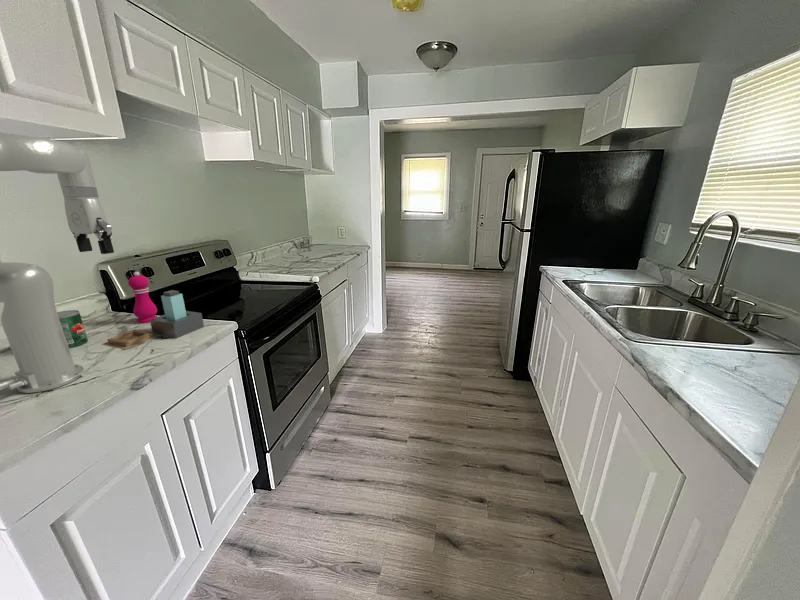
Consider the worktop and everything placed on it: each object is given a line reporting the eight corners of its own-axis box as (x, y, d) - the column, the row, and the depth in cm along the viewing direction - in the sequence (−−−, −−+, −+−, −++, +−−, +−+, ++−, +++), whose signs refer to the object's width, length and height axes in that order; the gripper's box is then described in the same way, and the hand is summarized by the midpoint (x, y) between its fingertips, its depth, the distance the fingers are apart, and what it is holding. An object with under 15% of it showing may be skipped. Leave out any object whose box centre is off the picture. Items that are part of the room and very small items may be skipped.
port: (176, 340, 111) (173, 322, 109) (153, 335, 114) (149, 318, 112) (204, 328, 121) (201, 312, 119) (182, 324, 124) (178, 308, 122)
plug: (176, 324, 114) (169, 294, 110) (166, 322, 115) (160, 292, 112) (187, 320, 118) (181, 290, 114) (178, 318, 119) (172, 289, 116)
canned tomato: (52, 346, 105) (41, 314, 102) (85, 338, 111) (75, 308, 108) (58, 353, 101) (47, 320, 97) (91, 344, 107) (82, 313, 104)
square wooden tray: (125, 351, 103) (123, 345, 102) (101, 345, 106) (100, 340, 106) (159, 337, 113) (158, 332, 112) (136, 333, 116) (135, 327, 116)
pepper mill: (131, 324, 124) (118, 272, 118) (150, 317, 131) (138, 268, 124) (145, 326, 122) (133, 274, 116) (164, 319, 129) (153, 270, 123)
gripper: (45, 193, 93) (63, 252, 99) (85, 194, 88) (102, 256, 94) (76, 193, 100) (92, 248, 106) (115, 194, 95) (129, 252, 101)
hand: (96, 252), depth 100 cm, fingers open, 9 cm apart
